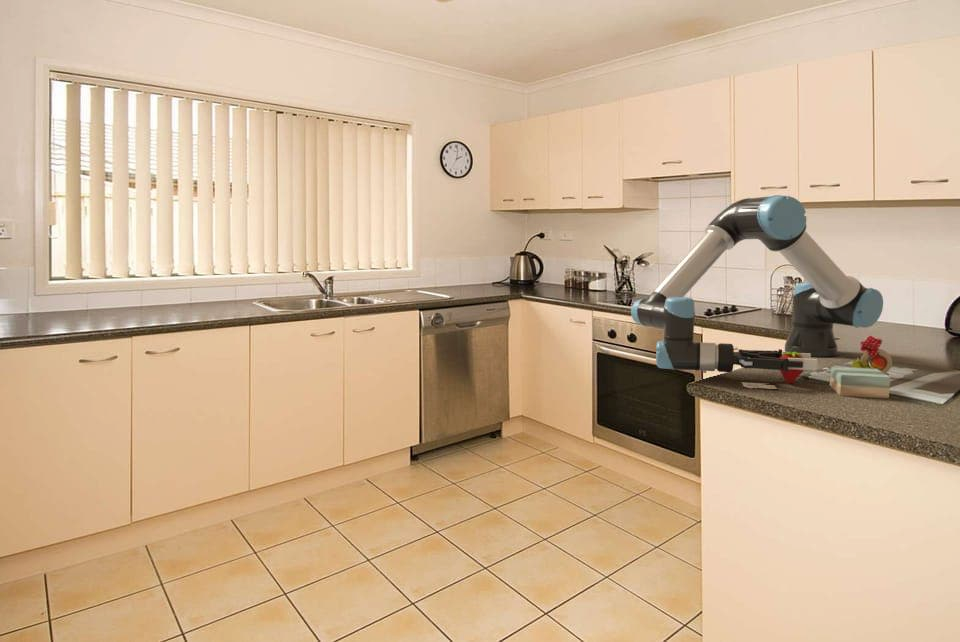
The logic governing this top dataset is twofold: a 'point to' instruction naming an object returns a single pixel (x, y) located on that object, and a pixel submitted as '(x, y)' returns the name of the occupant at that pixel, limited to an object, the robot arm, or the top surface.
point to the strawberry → (791, 373)
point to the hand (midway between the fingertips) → (813, 361)
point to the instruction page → (753, 384)
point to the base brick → (860, 382)
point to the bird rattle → (877, 361)
